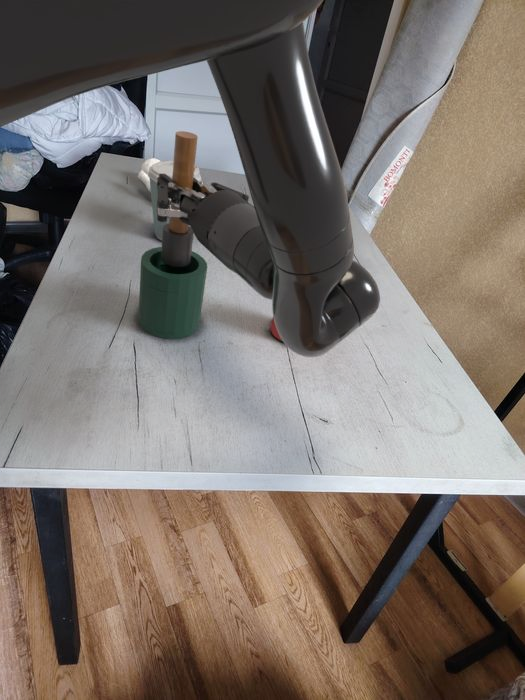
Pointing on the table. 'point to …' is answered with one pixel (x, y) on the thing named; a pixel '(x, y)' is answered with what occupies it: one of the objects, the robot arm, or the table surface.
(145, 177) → the figure
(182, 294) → the green cup
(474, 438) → the table surface
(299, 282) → the robot arm
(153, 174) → the disposable coffee cup
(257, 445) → the table surface
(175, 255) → the brown and grey cylinder
